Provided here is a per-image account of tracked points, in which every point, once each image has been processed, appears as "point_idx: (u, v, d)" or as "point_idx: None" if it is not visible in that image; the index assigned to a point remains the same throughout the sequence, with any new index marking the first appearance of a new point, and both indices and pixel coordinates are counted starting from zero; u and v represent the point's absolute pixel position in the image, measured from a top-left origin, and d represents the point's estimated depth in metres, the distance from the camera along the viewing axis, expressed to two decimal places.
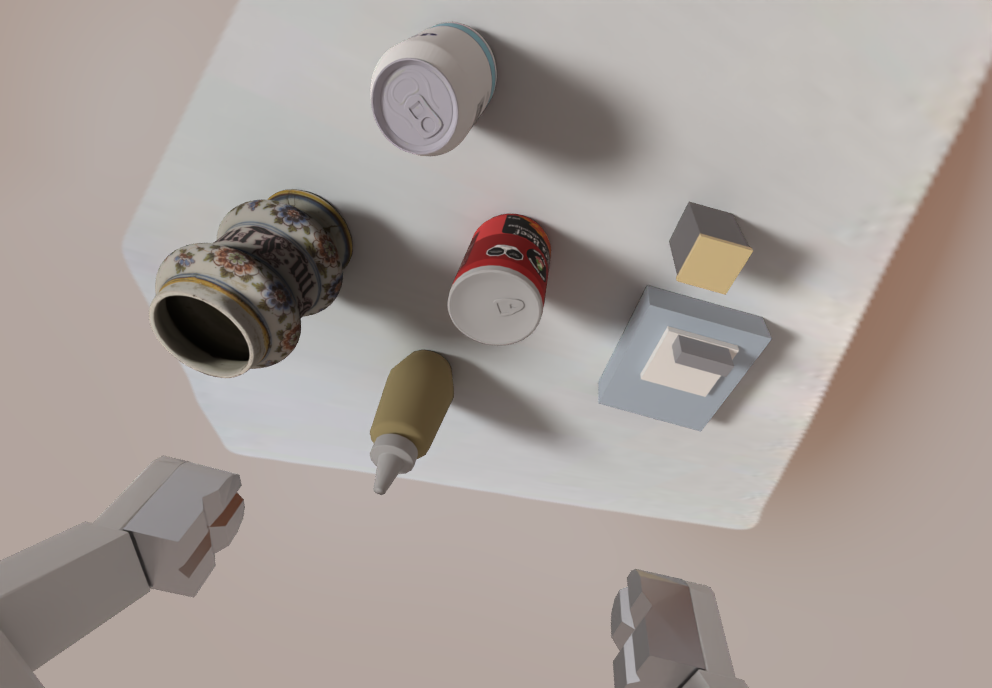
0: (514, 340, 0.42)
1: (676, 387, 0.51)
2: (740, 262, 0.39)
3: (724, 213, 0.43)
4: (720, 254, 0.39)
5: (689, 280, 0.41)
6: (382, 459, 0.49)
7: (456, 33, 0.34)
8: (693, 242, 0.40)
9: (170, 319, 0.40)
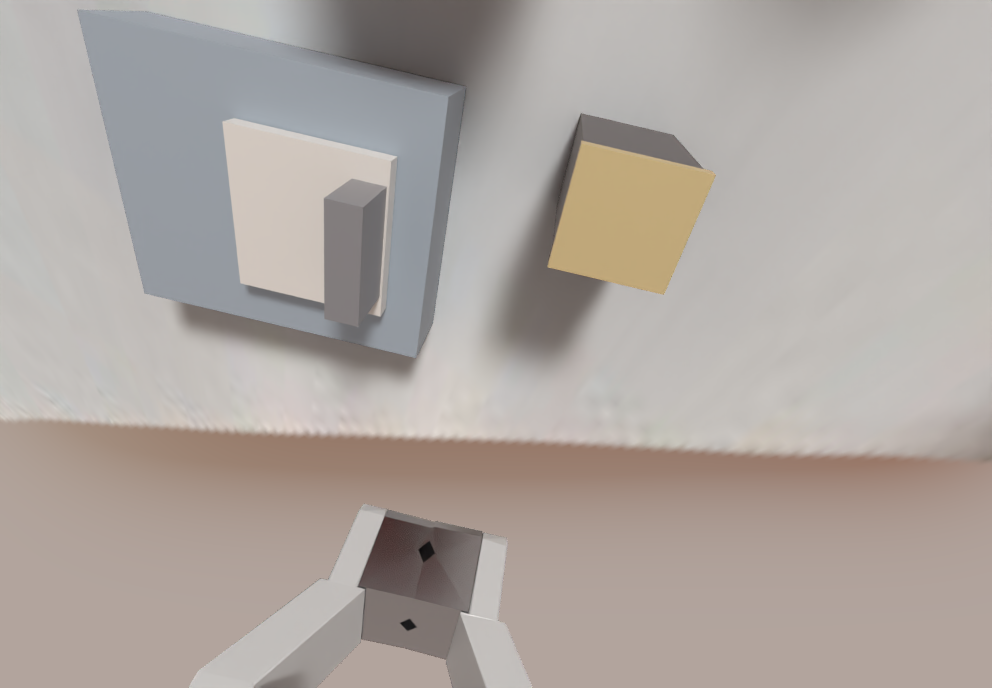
0: None
1: (237, 217, 0.21)
2: (634, 277, 0.17)
3: None
4: (658, 230, 0.16)
5: (582, 177, 0.16)
6: None
7: None
8: (673, 161, 0.16)
9: None
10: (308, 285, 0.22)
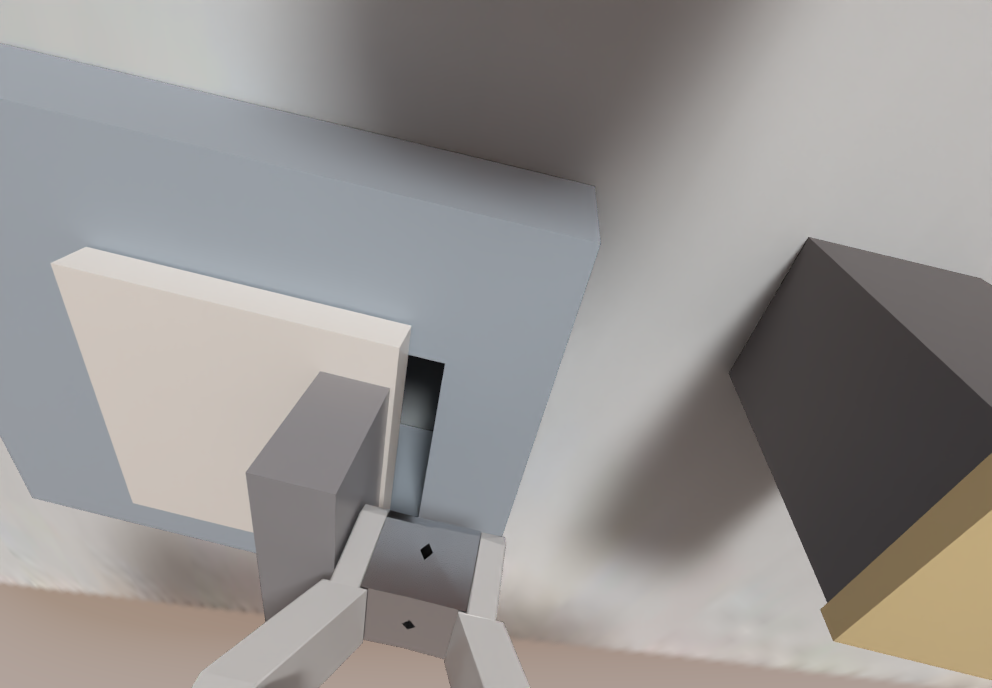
0: None
1: (110, 414, 0.11)
2: None
3: None
4: None
5: None
6: None
7: None
8: None
9: None
10: (249, 515, 0.13)
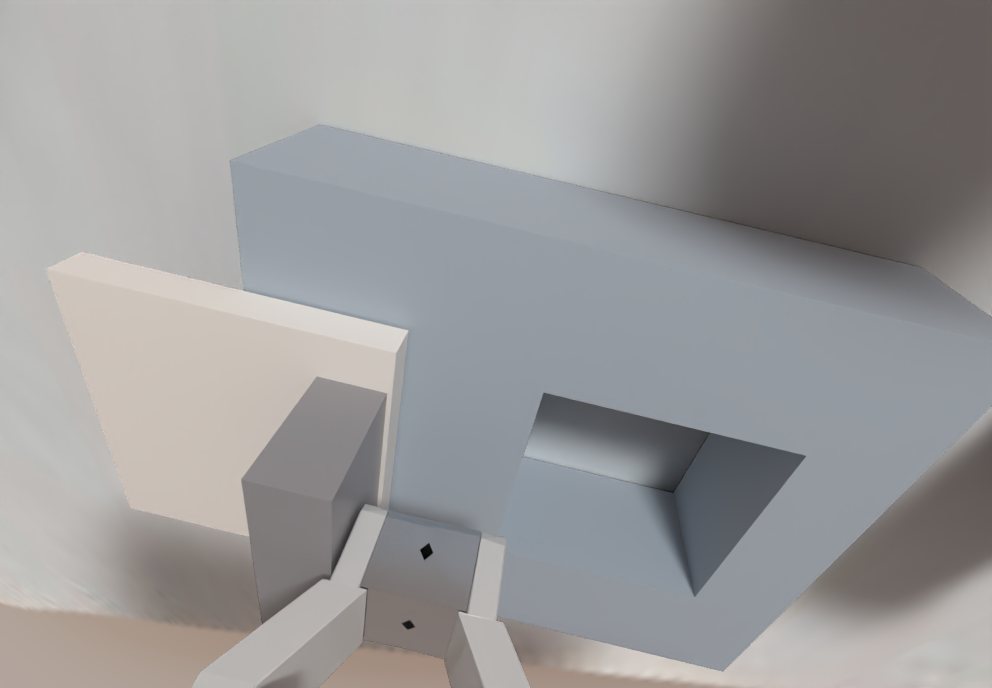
0: None
1: (106, 420, 0.11)
2: None
3: None
4: None
5: None
6: None
7: None
8: None
9: None
10: (247, 519, 0.13)
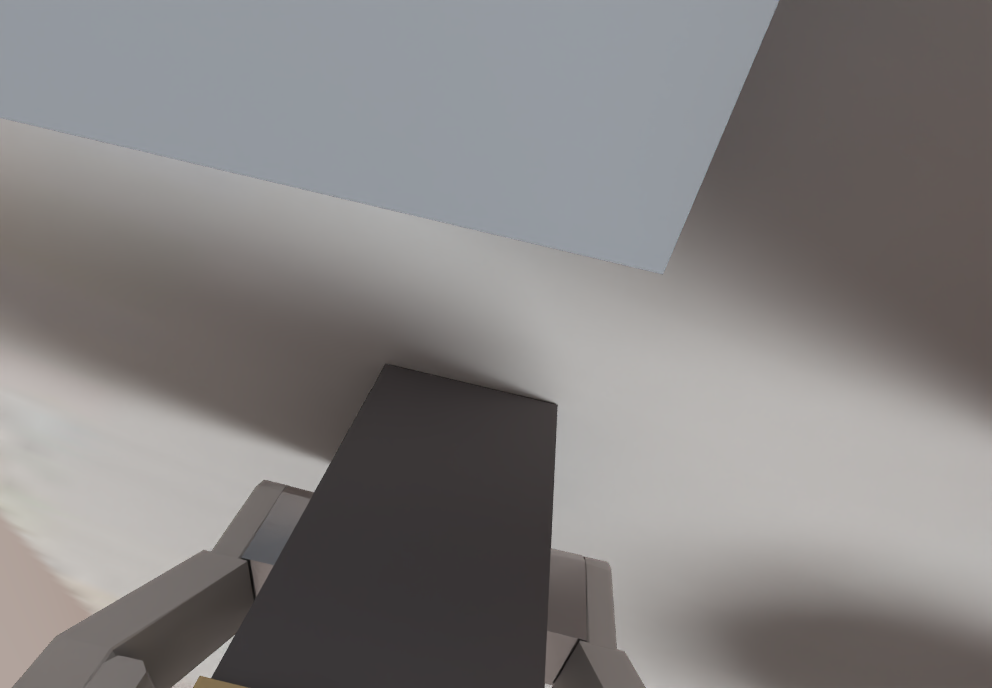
0: None
1: None
2: None
3: None
4: None
5: None
6: None
7: None
8: None
9: None
10: None
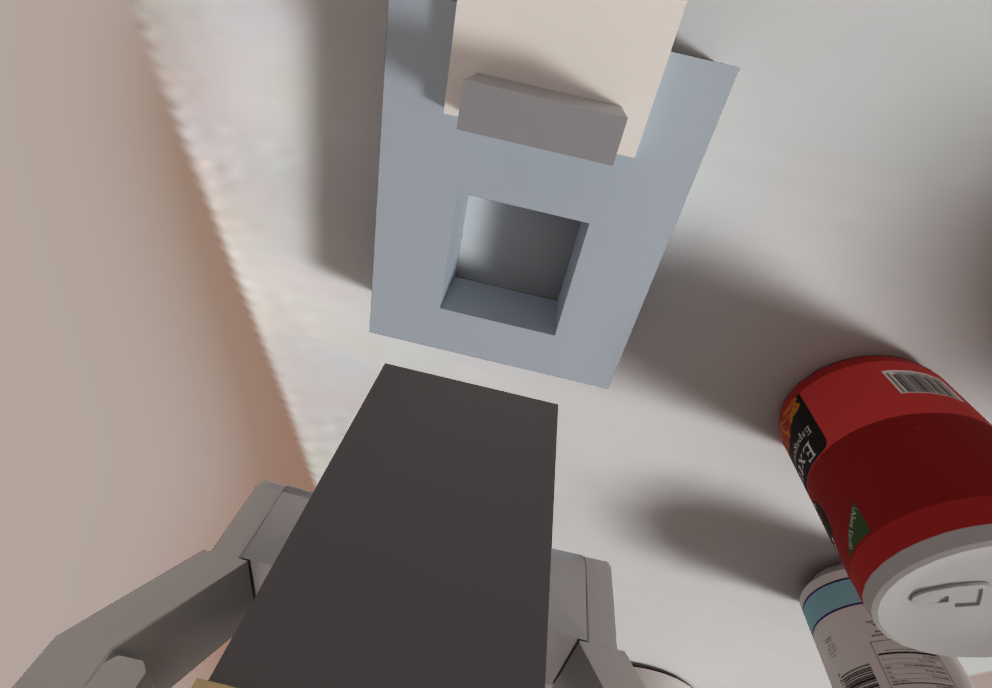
0: (983, 548, 0.17)
1: None
2: None
3: None
4: None
5: None
6: None
7: None
8: None
9: None
10: (479, 5, 0.16)
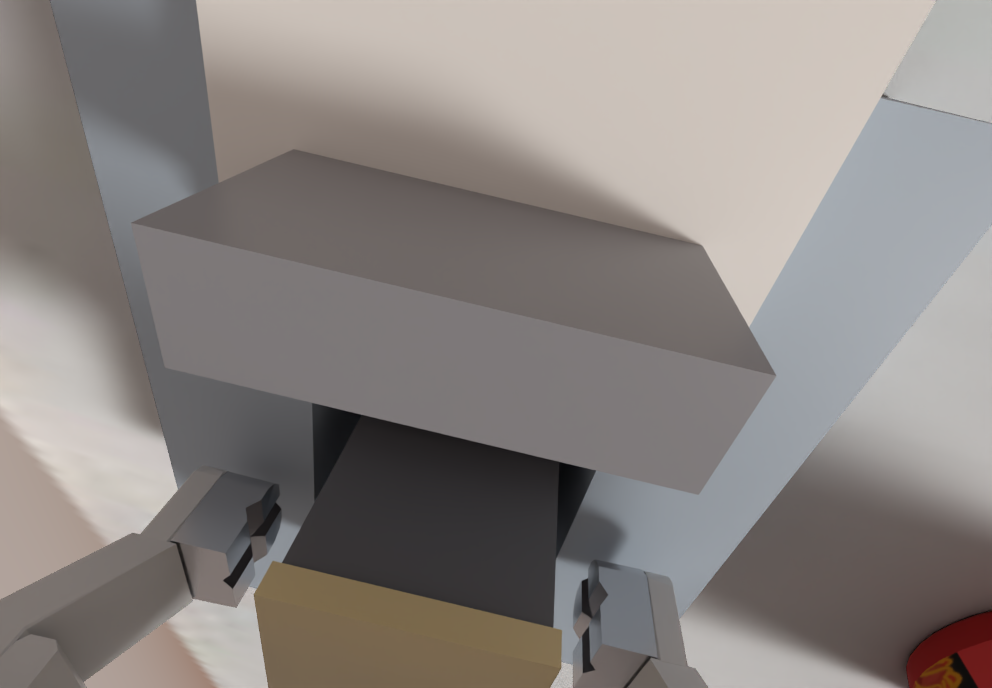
0: None
1: None
2: None
3: None
4: None
5: (486, 662, 0.07)
6: None
7: None
8: None
9: None
10: None
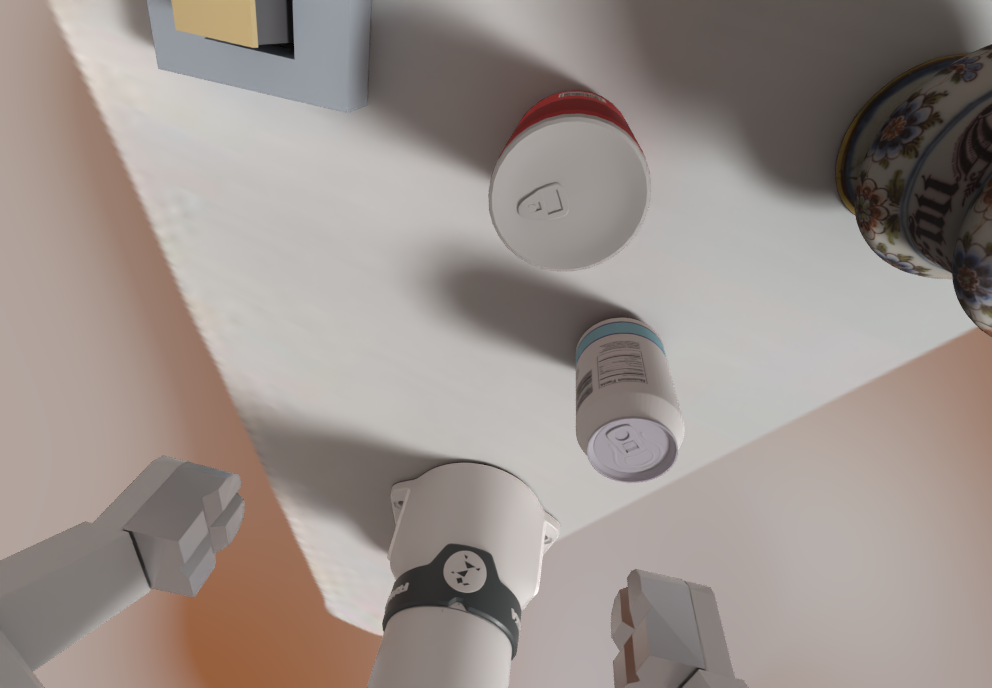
0: (531, 136, 0.23)
1: None
2: (179, 4, 0.25)
3: None
4: (213, 16, 0.25)
5: None
6: None
7: None
8: (260, 22, 0.26)
9: None
10: None
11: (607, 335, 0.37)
